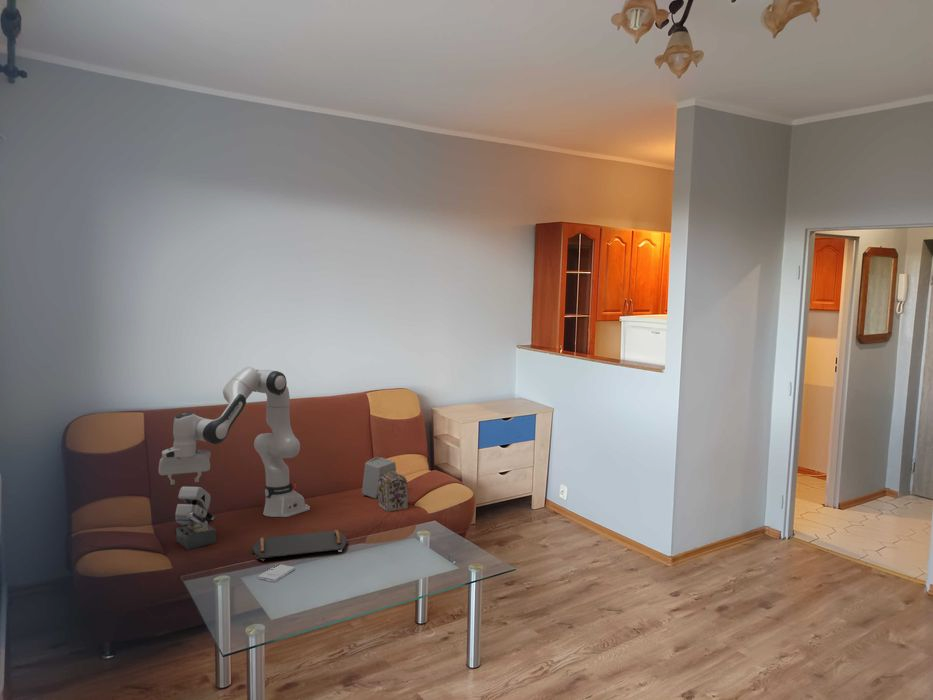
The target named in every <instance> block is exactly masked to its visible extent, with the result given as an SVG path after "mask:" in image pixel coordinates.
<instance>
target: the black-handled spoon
mask: <svg viewBox="0 0 933 700" xmlns="http://www.w3.org/2000/svg"><path fill="white" fill-rule="evenodd" d="M187 519H189V520H191V519H192V520H193V521H195V522H196V523H198V524H200V525H201V526H202V530H205V529H208V525H209V523H208V521H207V519H202V518H201V517H199V516H198V515H196V512H195V511H191V512H188V513H187Z"/></svg>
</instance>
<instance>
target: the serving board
mask: <svg viewBox="0 0 933 700" xmlns="http://www.w3.org/2000/svg"><path fill="white" fill-rule="evenodd" d="M343 541H345V542H343ZM347 541H348V539H347V537H346V536H345V535H344V534H343V533H342V532H340V531H339V530H338V529H335V530H326V531H315V532H307V533H306V532H305V533H296V534H294V533H293V534H286V535H285V534H283V535H279V536H278V535H276V536H264V537H263V536H262V537H260V538H259V539H257V541H255V542H254V544H253V545H252V552H253V554H254V555H255V556H256V557H258V558H259V560H260V559H265V560H266V559H267V558H268V559H269V558H275V556H276V558H278V557H285V556H294V555H295V556H296V555H302V554H303V555H305V554H313V553H322V552H331V551H337V550H341V549H342V550H343V549H345V548H346V546H347V544H348V542H347ZM302 550H303V551H302ZM297 551H301V552H297Z"/></svg>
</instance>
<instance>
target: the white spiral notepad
mask: <svg viewBox="0 0 933 700" xmlns="http://www.w3.org/2000/svg"><path fill="white" fill-rule="evenodd" d="M294 568H295V569H296V567H295V566H291V565H290V566H289V565H286V564H280V565H279V566H277V567H275V568H273V567H271V568H269V569H270V570H269V569H267V570H268V571H267V570H266V571H264V572H262V573H261V574H259V575H257V576H256V578H257V577H261V578H264V579H269V580H274V581H275V580H277V579H278V578H280V577H281V576H282V575H284V574H286V573H287V572H289V571H291V570H292V569H294ZM271 569H273V570H271Z"/></svg>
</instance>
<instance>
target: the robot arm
mask: <svg viewBox="0 0 933 700" xmlns="http://www.w3.org/2000/svg"><path fill="white" fill-rule="evenodd" d="M287 383H288V382H287V377H286V376H285V374H284V373H282V372H281V371H279V370H278V371H277V370H272V369H255V368H254V367H251V366H246V367H244V368H242V369H241V370H240V371H238V372H237V373H236V374H235V375H234V376H233V377H232V378H230V379H229V381H228V382H227V383H226V384H225V386H224V388H222V395H223V398H224V399H225V402H227V403H228V406H227V407H226V408H225V409H224V411H223V412H222V414H220V416H219V417H217V418H216V419H210V418H204V417H201V416H198V415H196V414H195V413H194V412H191V411H187V412H186V411H185V412H181V413H178V414H176V416H174V420H173V425H172V426H173V428H172V429H173V430H172V431H173V432H172V433H173V434H172V435H173V439H174V440H173V443H172V444H173V445H172V447H170V448H166V449H164V450H162V451H161V458H160V459H159V464H158V475H160V476H167V478H168V479H169V481H170V485H171V486H173V485H174V486H175V485H176V480H175V479H172V477H173V475H181V474H191V473H192V474H193V473H197V476H196V477H194V483H199V482H200V480H199V479H200V477H201V476H202V472H209V471H210V469H211V462H210V459H211V457H212V456H211V454H212V453H211V451H210V450H207V449H206V448H205V449H197V441H201V442H205V443H206V442H207V443H210V444H214V445H219V444H221V443H222V442H224V441H225V440H226V438H227V437H228V434H229V432H230V429H231V428H232V426H233V425H234V423H235V422H236V421H237V419H238V417H239V416H240V414H241V413H242V412H243V410H244V408H245V406H246V405H247V399H248V398H249V397H250V396H251V394H252V393H253V392H255V393H262V394H265V395H266V406H265V407H266V409H265V410H266V411H265V412H266V413H265V421H266V424H267V425H268V426H269V428H270V429H271V431H272V433H271V432H265V433H260V434H258V435H256V437H255V439H254V442H253V447H254V450H255V451H256V452H257V453H258V455H259V456H260V458H261V460H262V463H263V466H264V471H265V487H264V496H265V503H264V509H263V513H262V515H264V516H265V517H271V518H279V517H280V518H288V517H291V516H295V515H298V514H300V513H304V512H307V511H310V510H311V507H310V505H308V504H307V503H306V501H305V498H304V495H302V494H300V493H299V492H298V491H296V490H294V489H297V484H296V483H291V482H290V469H289V466H288V464H287V463H286V462H285V461H284V459H290V458H291V459H292V458H295V457H296V456H298V455H299V453H300V450H301V444H300V443H301V442H300V440H299V439H298V438H297V437H296V436H295V434H294V432H293V429H292V427H291V419H290V418H291V416H290V415H291V414H290V413H291V412H290V411H291V409H290V408H291V406H290V405H291V401H290V400H291V398H290V391H289V387H288V386H287Z"/></svg>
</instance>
